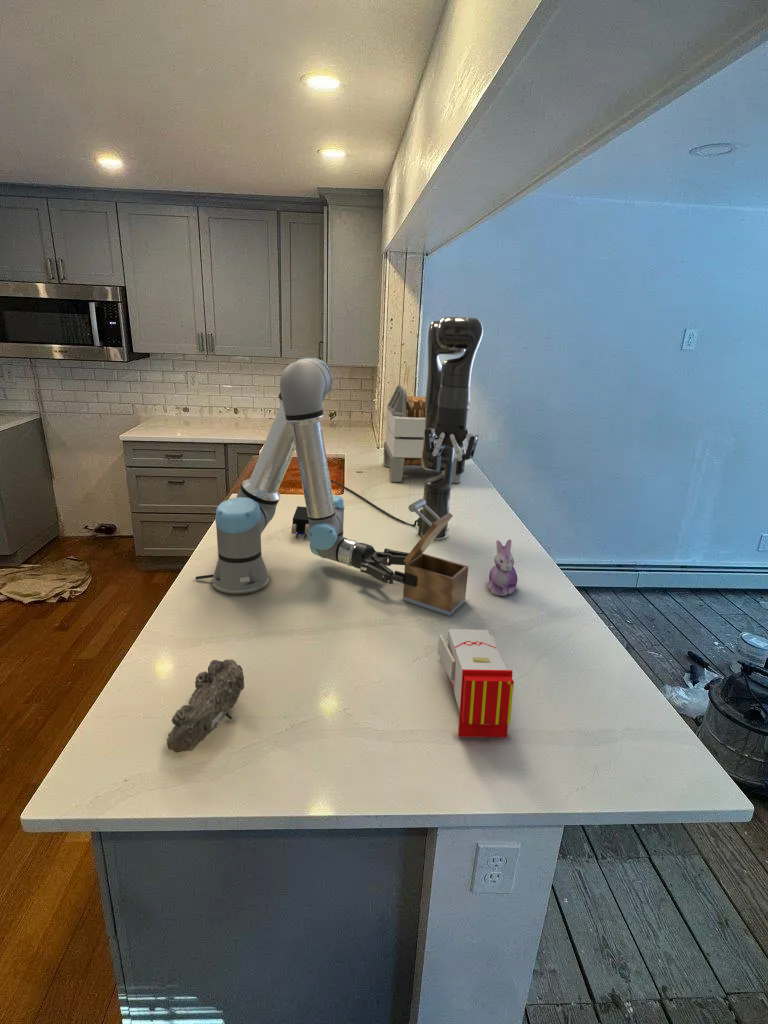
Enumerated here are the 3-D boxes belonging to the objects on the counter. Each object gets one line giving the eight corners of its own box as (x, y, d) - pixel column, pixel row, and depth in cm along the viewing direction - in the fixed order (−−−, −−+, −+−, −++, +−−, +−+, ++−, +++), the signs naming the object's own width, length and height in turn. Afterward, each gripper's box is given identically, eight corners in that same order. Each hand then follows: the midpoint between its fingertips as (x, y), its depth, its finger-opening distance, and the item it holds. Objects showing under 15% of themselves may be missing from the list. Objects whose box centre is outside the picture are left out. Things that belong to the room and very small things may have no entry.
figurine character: (310, 544, 191) (314, 524, 204) (310, 524, 187) (314, 505, 201) (290, 544, 190) (296, 523, 204) (290, 524, 187) (295, 504, 200)
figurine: (500, 600, 157) (506, 550, 151) (478, 584, 165) (483, 536, 160) (526, 593, 161) (533, 545, 156) (503, 578, 169) (509, 532, 164)
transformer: (382, 463, 289) (386, 382, 275) (445, 464, 293) (451, 384, 279) (390, 482, 257) (394, 392, 243) (460, 483, 261) (468, 394, 247)
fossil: (192, 660, 117) (244, 628, 112) (224, 691, 120) (276, 661, 115) (142, 746, 98) (202, 712, 93) (182, 779, 101) (242, 748, 96)
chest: (465, 601, 156) (468, 566, 152) (450, 615, 148) (453, 579, 144) (419, 586, 162) (421, 553, 159) (402, 600, 155) (404, 564, 151)
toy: (488, 613, 130) (523, 677, 101) (484, 667, 133) (517, 744, 104) (435, 612, 130) (455, 676, 101) (432, 666, 133) (451, 743, 103)
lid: (453, 515, 150) (427, 491, 152) (436, 526, 143) (410, 500, 145) (423, 552, 158) (399, 529, 161) (406, 564, 151) (381, 539, 153)
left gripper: (377, 554, 175) (442, 573, 165) (334, 580, 157) (404, 603, 147) (378, 531, 173) (444, 549, 162) (334, 555, 155) (405, 577, 144)
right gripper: (419, 402, 137) (415, 470, 142) (474, 410, 130) (467, 481, 135) (434, 399, 143) (429, 465, 148) (487, 406, 136) (480, 474, 141)
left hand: (425, 575), depth 154 cm, fingers closed on chest, 9 cm apart
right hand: (447, 472), depth 142 cm, fingers open, 5 cm apart
